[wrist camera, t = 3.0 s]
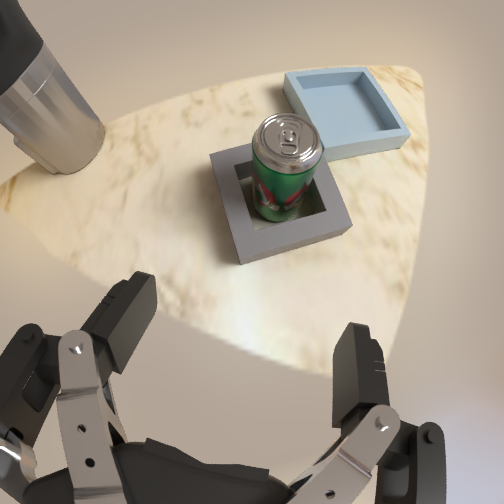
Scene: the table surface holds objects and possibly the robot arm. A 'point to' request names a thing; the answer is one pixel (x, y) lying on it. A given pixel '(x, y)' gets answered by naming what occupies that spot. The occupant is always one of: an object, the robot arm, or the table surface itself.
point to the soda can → (283, 164)
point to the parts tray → (346, 111)
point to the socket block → (286, 234)
